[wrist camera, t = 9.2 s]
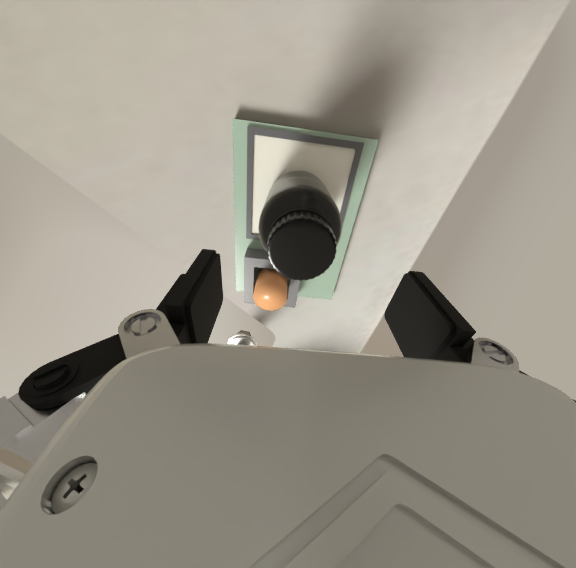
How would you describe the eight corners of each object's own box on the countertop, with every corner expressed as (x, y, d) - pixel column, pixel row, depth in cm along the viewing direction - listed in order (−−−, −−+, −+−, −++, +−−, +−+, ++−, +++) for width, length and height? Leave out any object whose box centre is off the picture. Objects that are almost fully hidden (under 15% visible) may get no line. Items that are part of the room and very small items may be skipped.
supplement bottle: (309, 154, 22) (328, 175, 12) (337, 213, 25) (370, 266, 15) (254, 192, 24) (230, 236, 14) (286, 242, 27) (286, 305, 17)
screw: (263, 336, 39) (245, 348, 41) (242, 321, 37) (224, 334, 39) (254, 414, 28) (230, 425, 30) (224, 399, 26) (200, 413, 28)
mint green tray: (234, 118, 21) (226, 117, 18) (375, 139, 22) (388, 140, 19) (237, 286, 33) (232, 301, 30) (330, 295, 34) (334, 311, 31)
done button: (257, 264, 28) (253, 282, 25) (288, 267, 28) (289, 285, 25) (256, 289, 30) (252, 308, 27) (285, 292, 30) (285, 311, 27)
